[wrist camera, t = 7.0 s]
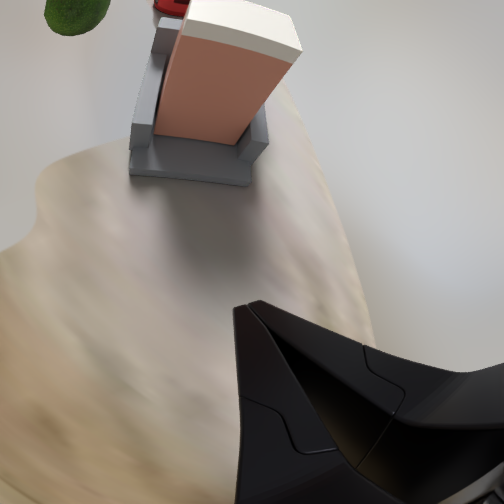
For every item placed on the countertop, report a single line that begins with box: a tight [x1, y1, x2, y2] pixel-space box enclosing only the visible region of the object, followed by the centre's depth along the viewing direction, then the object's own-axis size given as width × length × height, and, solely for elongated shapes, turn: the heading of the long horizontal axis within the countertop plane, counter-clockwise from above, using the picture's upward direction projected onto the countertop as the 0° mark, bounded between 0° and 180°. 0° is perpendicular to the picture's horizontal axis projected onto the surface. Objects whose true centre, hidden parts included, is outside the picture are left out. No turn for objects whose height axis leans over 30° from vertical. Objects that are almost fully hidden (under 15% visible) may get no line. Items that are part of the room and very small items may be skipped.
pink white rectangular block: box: [154, 0, 303, 145], centre depth 18 cm, size 5×7×11 cm
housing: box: [129, 17, 269, 187], centre depth 21 cm, size 13×11×7 cm
